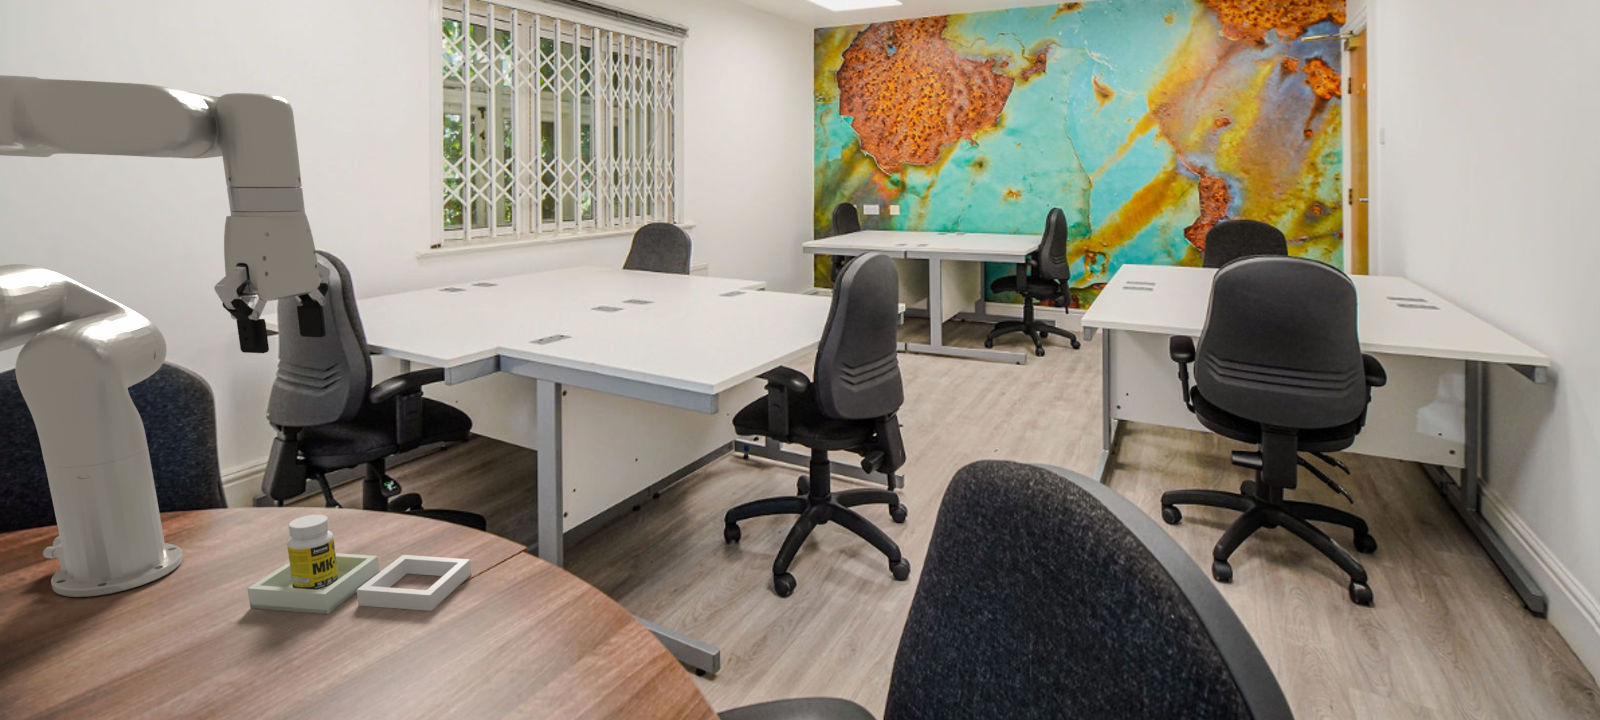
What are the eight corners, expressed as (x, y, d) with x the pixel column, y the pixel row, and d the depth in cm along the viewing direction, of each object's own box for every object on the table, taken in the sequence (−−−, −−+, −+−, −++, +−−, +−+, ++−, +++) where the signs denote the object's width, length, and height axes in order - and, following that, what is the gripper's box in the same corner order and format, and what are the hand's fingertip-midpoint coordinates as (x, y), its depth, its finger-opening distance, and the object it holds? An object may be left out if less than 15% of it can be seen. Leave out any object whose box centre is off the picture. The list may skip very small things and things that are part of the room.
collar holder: (358, 605, 95) (356, 589, 95) (404, 569, 104) (402, 554, 103) (431, 611, 94) (429, 595, 93) (471, 574, 103) (470, 559, 102)
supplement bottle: (318, 598, 95) (309, 531, 94) (283, 593, 96) (274, 527, 95) (348, 578, 100) (340, 514, 98) (314, 574, 101) (306, 511, 99)
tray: (250, 608, 94) (247, 588, 94) (309, 569, 103) (306, 551, 103) (327, 614, 93) (324, 594, 92) (379, 574, 102) (377, 556, 102)
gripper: (291, 200, 106) (307, 330, 110) (176, 205, 89) (199, 358, 93) (344, 201, 105) (359, 332, 109) (238, 206, 88) (259, 360, 92)
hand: (285, 344), depth 101 cm, fingers open, 9 cm apart
